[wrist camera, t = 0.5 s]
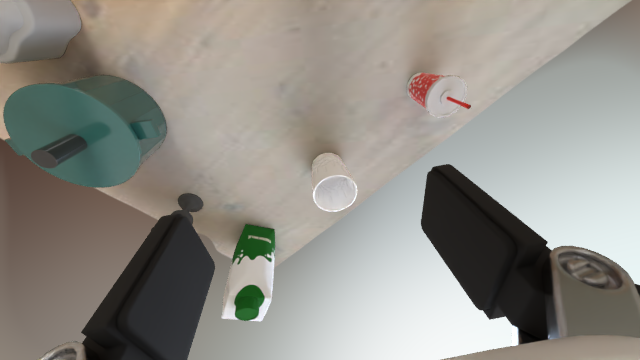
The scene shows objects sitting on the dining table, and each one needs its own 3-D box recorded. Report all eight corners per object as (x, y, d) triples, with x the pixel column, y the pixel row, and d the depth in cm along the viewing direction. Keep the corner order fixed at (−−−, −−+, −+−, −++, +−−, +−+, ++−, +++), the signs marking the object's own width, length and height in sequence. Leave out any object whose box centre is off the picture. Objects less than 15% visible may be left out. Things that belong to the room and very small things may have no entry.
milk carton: (279, 227, 57) (275, 309, 40) (269, 251, 61) (262, 335, 44) (242, 220, 54) (222, 304, 38) (235, 246, 58) (214, 332, 42)
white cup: (307, 182, 51) (312, 212, 42) (309, 149, 47) (314, 175, 38) (343, 182, 52) (354, 211, 43) (347, 149, 48) (360, 174, 39)
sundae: (197, 186, 48) (165, 241, 36) (212, 210, 52) (188, 267, 39) (166, 194, 48) (124, 251, 36) (184, 217, 52) (151, 277, 39)
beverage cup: (441, 73, 42) (502, 90, 30) (424, 107, 45) (472, 134, 33) (413, 62, 40) (464, 75, 28) (396, 97, 43) (437, 122, 31)
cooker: (32, 82, 35) (-42, 98, 27) (160, 67, 36) (124, 77, 28) (89, 161, 43) (44, 191, 35) (194, 147, 44) (173, 173, 36)
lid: (-21, 90, 28) (-92, 103, 23) (106, 74, 28) (65, 84, 23) (65, 189, 36) (27, 216, 30) (162, 175, 36) (141, 200, 31)
